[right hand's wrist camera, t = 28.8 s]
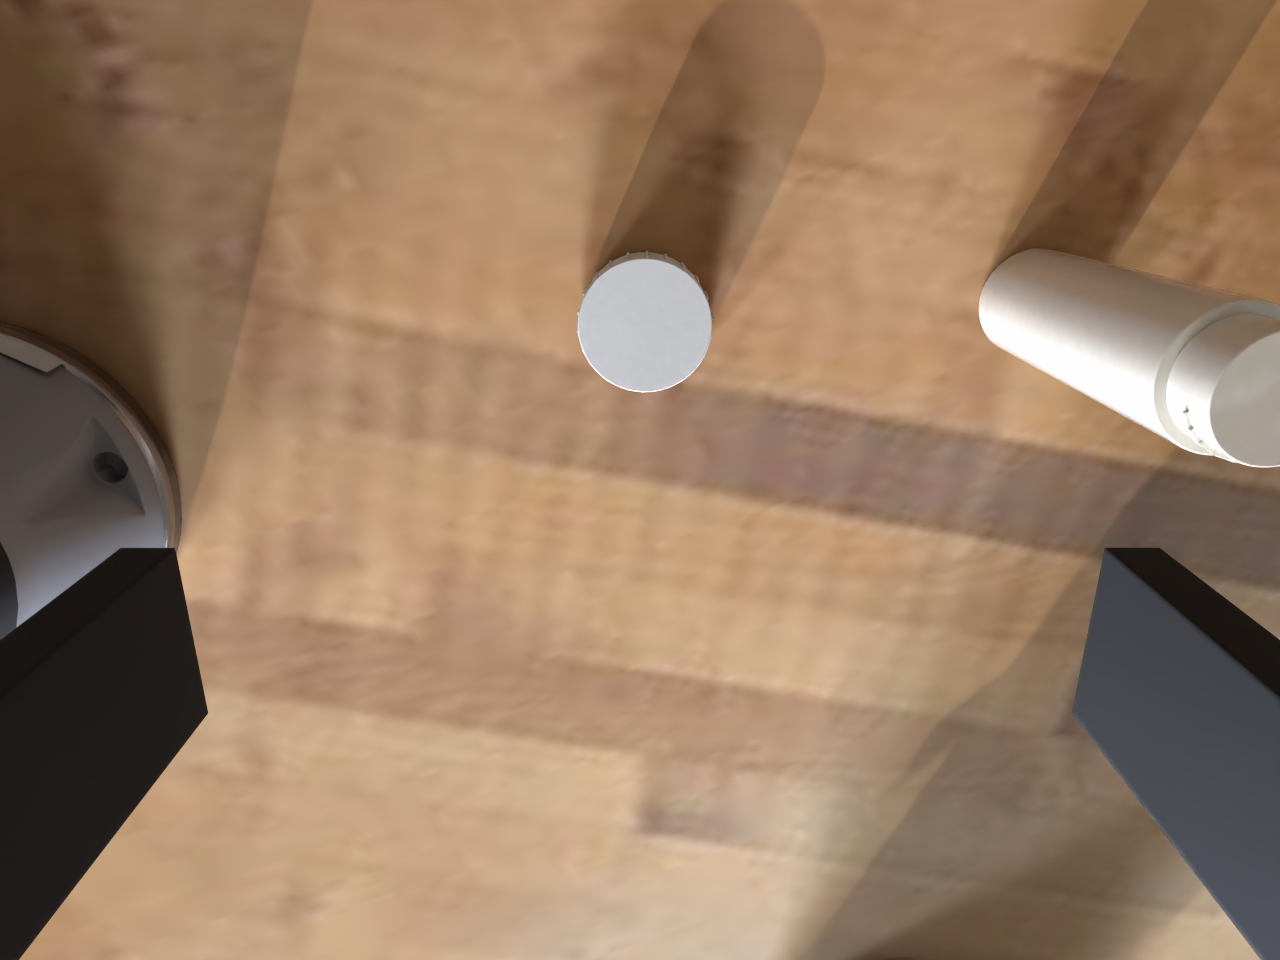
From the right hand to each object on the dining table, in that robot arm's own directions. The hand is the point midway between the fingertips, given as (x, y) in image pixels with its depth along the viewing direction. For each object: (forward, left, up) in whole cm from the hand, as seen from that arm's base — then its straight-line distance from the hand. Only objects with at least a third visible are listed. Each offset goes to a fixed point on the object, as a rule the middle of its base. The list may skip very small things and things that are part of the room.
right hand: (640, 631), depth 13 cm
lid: (0, 0, -24) cm, 24 cm away
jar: (+8, -14, -26) cm, 31 cm away
